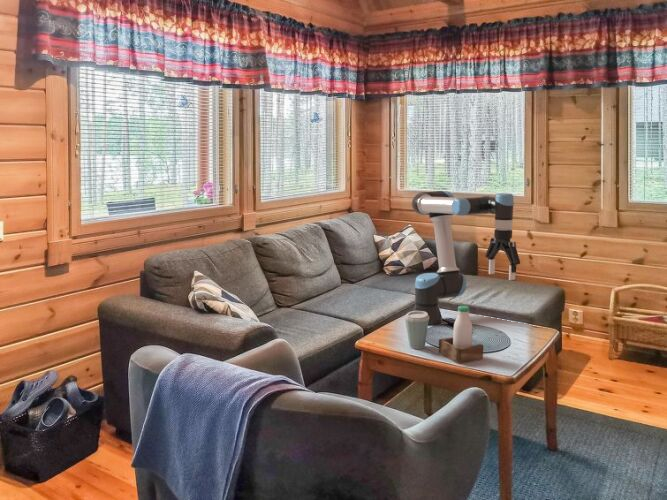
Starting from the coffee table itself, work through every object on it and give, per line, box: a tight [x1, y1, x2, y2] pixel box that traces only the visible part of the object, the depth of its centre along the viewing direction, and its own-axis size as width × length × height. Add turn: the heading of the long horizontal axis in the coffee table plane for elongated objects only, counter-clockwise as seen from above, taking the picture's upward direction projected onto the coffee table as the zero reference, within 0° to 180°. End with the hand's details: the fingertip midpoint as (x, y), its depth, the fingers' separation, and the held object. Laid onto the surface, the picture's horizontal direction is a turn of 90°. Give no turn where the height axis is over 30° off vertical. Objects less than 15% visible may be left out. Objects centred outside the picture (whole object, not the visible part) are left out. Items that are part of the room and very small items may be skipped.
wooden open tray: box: [438, 336, 484, 365], centre depth 247 cm, size 14×12×6 cm
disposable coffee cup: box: [404, 310, 429, 350], centre depth 258 cm, size 11×11×15 cm
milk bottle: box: [452, 305, 473, 348], centre depth 246 cm, size 8×8×20 cm
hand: (501, 276), depth 264 cm, fingers open, 13 cm apart
